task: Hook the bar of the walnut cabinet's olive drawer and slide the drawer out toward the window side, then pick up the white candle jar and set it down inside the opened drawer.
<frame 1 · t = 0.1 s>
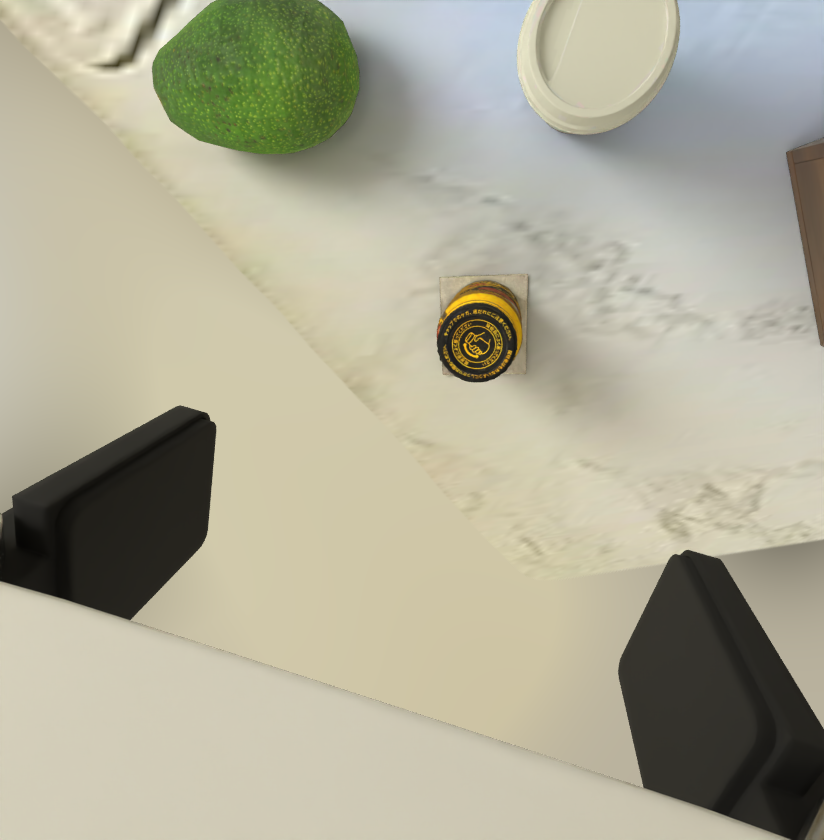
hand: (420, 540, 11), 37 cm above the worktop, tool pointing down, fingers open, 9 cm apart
condiment: (483, 325, 46), on the worktop
coffee cup: (576, 89, 39), on the worktop
fruit: (281, 93, 43), on the worktop
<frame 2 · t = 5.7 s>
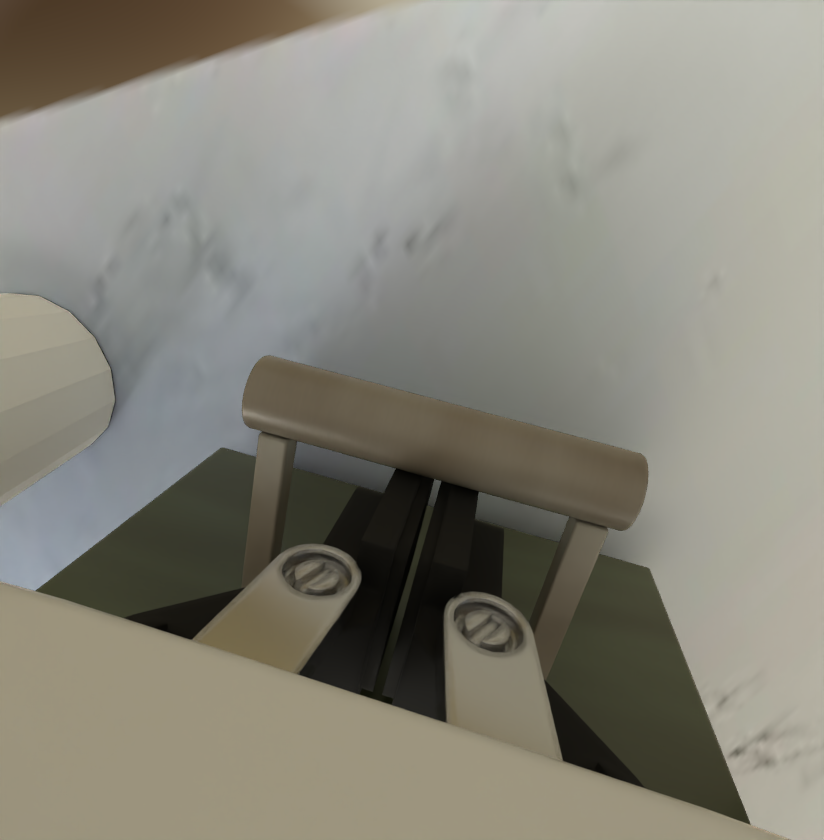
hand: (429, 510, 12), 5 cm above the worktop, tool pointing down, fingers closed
white candle jar: (45, 374, 19), on the worktop
drawer: (361, 747, 15), point 5 cm above the worktop, slide at 2.7 cm, touching gripper
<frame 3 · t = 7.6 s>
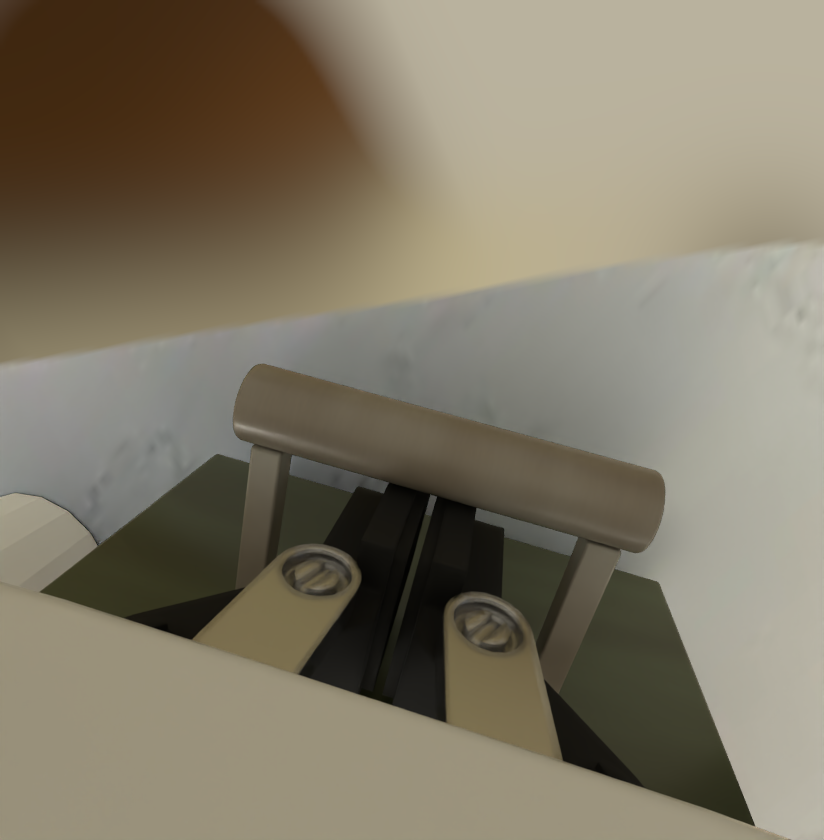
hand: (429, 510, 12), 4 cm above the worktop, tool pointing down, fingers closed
white candle jar: (46, 554, 21), on the worktop
drawer: (359, 766, 14), point 5 cm above the worktop, slide at 10.2 cm, touching gripper
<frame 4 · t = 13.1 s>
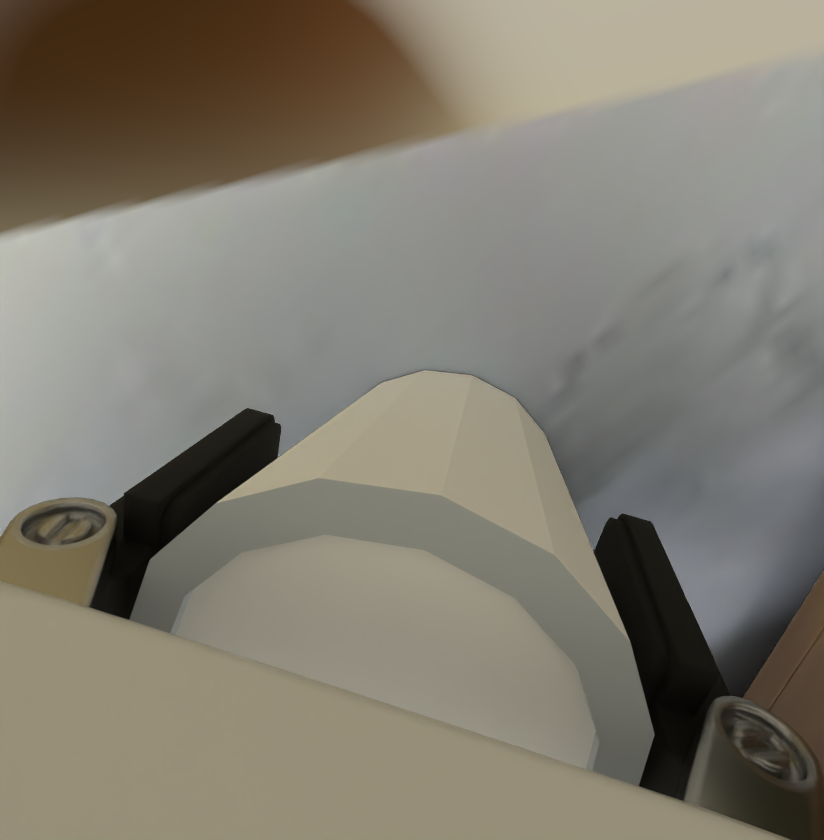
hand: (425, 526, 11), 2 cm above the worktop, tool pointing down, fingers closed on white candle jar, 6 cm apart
white candle jar: (439, 476, 13), on the worktop, touching gripper
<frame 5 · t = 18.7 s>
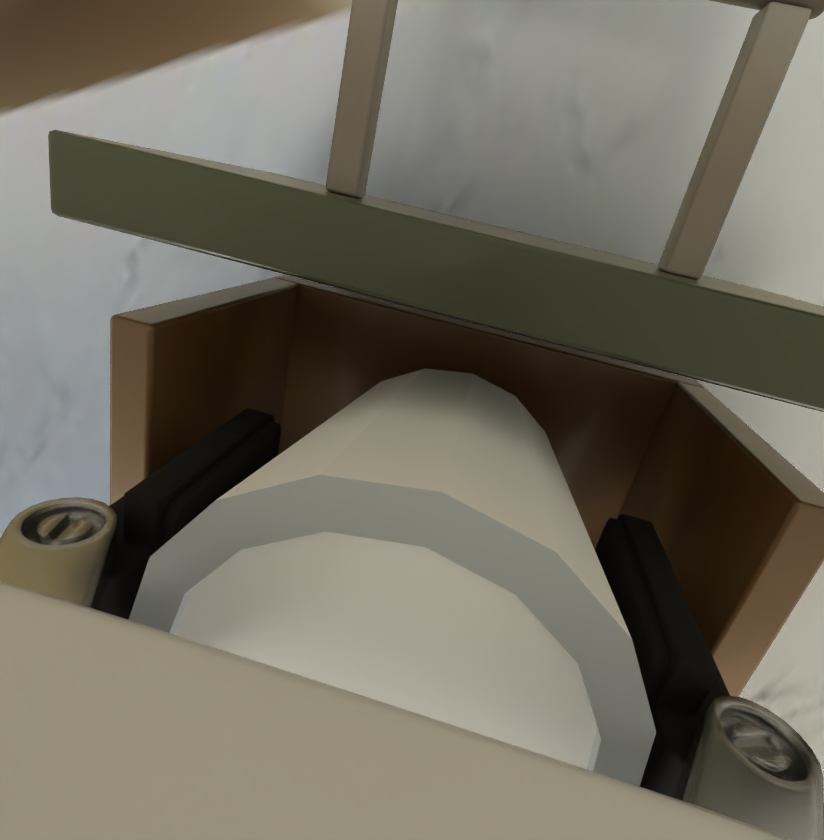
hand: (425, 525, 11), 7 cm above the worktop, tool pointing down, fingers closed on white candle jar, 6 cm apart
white candle jar: (440, 475, 13), point 4 cm above the worktop, touching gripper
drawer: (441, 475, 13), point 5 cm above the worktop, slide at 10.2 cm, touching gripper
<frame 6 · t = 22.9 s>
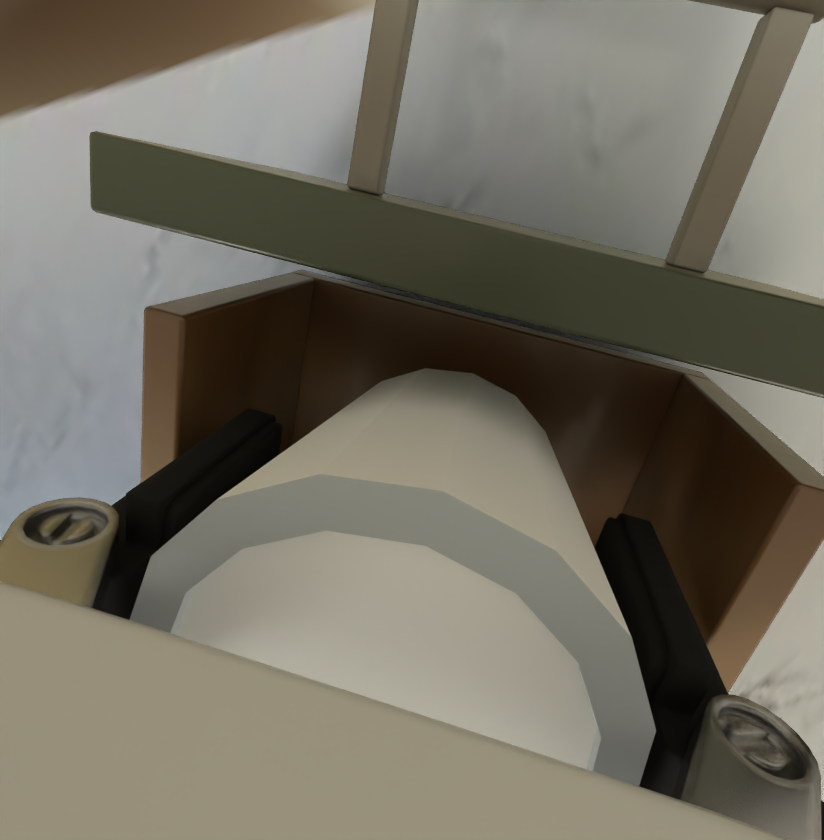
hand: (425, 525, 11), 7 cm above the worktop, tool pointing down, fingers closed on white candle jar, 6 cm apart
white candle jar: (440, 474, 13), point 5 cm above the worktop, touching gripper
drawer: (454, 464, 13), point 5 cm above the worktop, slide at 10.1 cm
when the fingers open (7 cm above the worktop, at t = 26.7 s): white candle jar drops 3 cm, resting on drawer.
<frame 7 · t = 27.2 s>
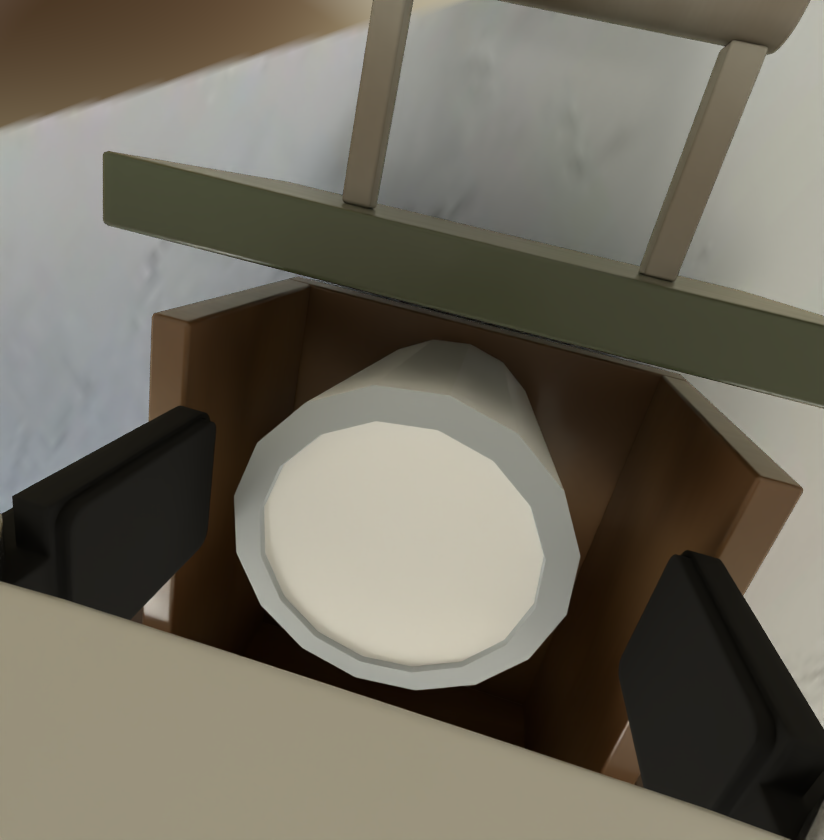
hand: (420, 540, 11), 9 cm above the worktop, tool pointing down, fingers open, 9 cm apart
white candle jar: (442, 426, 17), point 2 cm above the worktop, touching drawer
drawer: (444, 461, 14), point 5 cm above the worktop, slide at 10.1 cm, touching white candle jar
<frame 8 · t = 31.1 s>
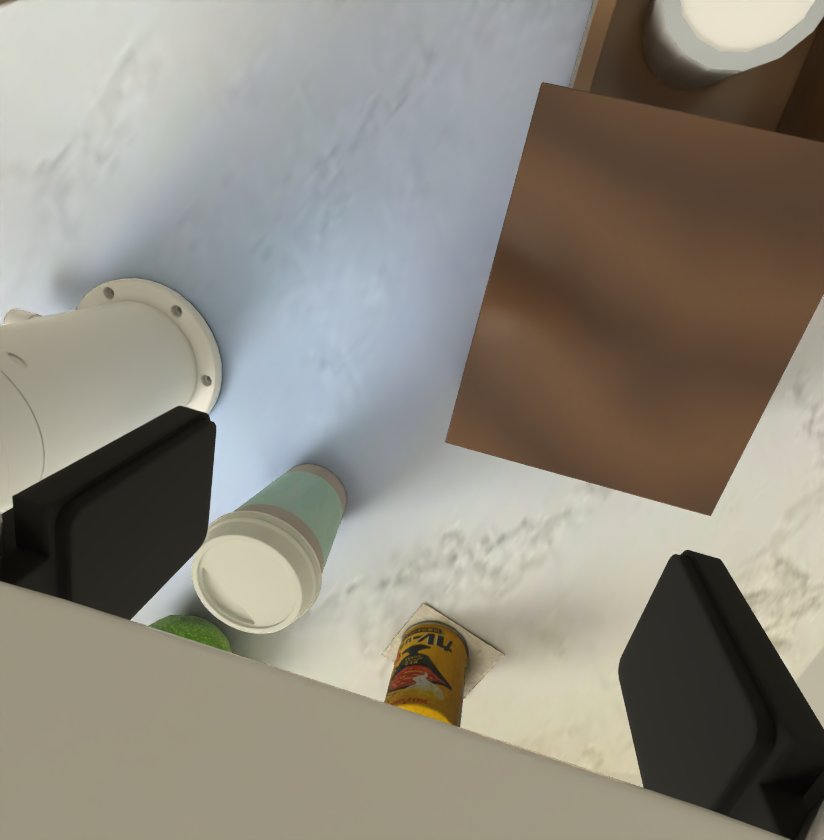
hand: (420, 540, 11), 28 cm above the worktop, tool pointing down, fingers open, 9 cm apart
white candle jar: (697, 29, 28), point 2 cm above the worktop, touching drawer
cabinet: (604, 295, 35), on the worktop
drawer: (728, 4, 25), point 5 cm above the worktop, slide at 10.1 cm, touching white candle jar
condiment: (442, 651, 48), on the worktop
coffee cup: (314, 494, 45), on the worktop
fruit: (198, 647, 53), on the worktop
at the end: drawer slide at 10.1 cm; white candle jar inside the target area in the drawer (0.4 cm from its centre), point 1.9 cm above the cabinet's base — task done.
